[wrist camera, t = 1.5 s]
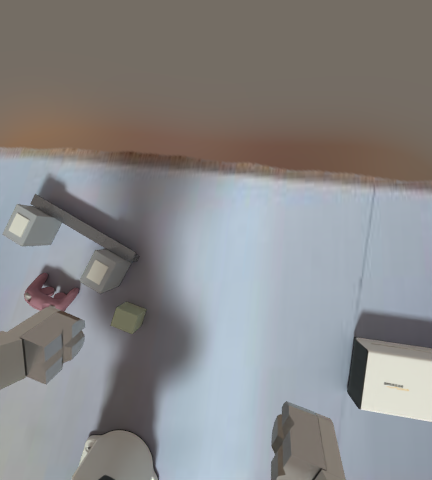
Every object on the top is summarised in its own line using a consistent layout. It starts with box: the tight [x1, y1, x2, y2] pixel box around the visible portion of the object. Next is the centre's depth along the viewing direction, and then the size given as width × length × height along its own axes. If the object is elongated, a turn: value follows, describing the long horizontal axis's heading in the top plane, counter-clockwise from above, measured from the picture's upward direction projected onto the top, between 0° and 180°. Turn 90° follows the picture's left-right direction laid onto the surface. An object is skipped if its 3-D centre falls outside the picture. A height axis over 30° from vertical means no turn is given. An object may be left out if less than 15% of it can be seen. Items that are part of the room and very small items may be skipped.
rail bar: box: [31, 194, 140, 263], centre depth 52 cm, size 2×26×3 cm, turn 61°
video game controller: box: [24, 273, 79, 311], centre depth 52 cm, size 10×5×7 cm, turn 67°
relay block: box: [110, 302, 147, 334], centre depth 51 cm, size 4×5×4 cm
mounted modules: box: [2, 204, 132, 294], centre depth 50 cm, size 7×24×7 cm, turn 61°
